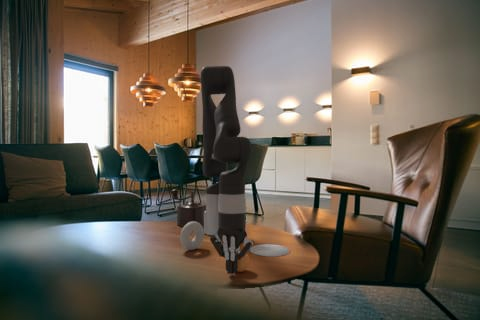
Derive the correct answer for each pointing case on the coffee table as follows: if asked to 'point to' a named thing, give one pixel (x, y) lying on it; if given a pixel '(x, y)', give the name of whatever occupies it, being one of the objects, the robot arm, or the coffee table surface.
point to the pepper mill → (188, 210)
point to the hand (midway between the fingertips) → (231, 272)
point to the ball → (243, 263)
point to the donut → (197, 238)
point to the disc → (270, 250)
